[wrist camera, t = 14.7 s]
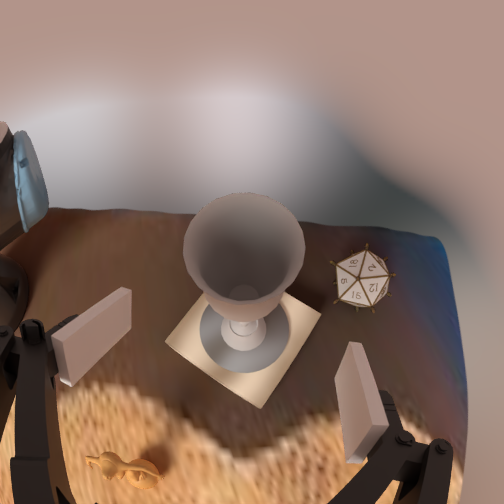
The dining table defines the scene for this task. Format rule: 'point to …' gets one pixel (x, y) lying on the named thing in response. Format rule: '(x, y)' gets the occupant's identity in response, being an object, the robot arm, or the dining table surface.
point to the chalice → (244, 261)
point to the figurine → (127, 470)
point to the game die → (362, 279)
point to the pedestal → (244, 362)
